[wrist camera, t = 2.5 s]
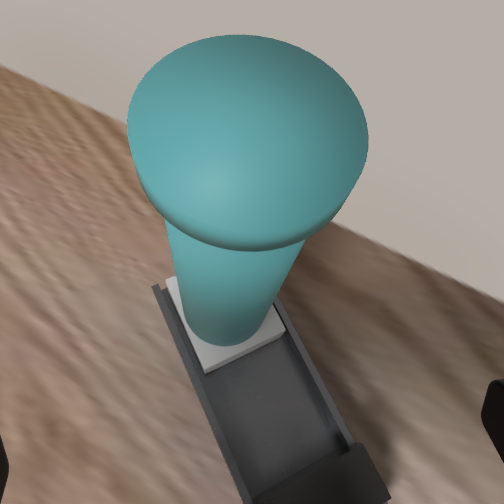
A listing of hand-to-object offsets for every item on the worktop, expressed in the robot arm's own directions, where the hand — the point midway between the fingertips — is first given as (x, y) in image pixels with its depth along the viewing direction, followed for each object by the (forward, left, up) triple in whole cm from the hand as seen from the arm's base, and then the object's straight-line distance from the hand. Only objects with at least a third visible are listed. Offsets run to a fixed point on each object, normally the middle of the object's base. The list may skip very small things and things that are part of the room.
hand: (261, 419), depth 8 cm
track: (0, -2, -11) cm, 11 cm away
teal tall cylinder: (+4, -2, -10) cm, 11 cm away
